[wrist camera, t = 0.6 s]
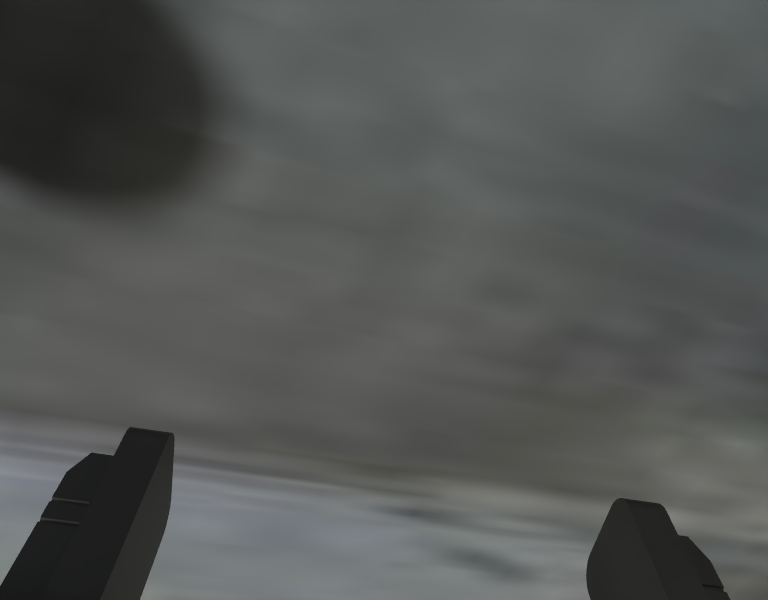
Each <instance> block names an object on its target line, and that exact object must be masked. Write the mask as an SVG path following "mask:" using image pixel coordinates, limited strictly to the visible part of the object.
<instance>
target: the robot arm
mask: <svg viewBox="0 0 768 600" xmlns="http://www.w3.org/2000/svg"><path fill="white" fill-rule="evenodd" d="M173 457H174V434H173V433H169V432H162V431H155V430H148V429H141V428H134V427H130V428H129V429H128V430H127V431H126V433H125V435H124V437H123V439H122V441H121V443H120V445H119V447H118V449H117V451H116V453H115V455H114V456H112V455H105V454H97V453H90V454H89V455H88V456H87V457H85V458H84V459H83V460H81V461H80V462H79V463H78V464H76V465H75V466H74V467H72V468H71V469H70V470H69V471H67V472H66V474H65V476H64V478H63V479H62V481H61V483H60V484H59V486H58V488H57V490H56V491H55V493H54V495H53V497H52V501H50V502H49V503H48V505H47V507H46V508H45V510H44V512H43V514H42V515H41V519H40V522H37V524H36V526H35V527H34V529H33V531H32V532H31V534H30V536H29V538H28V539H27V541H26V543H25V545H24V546H23V548H22V550H21V551H20V553H19V555H18V557H17V558H16V560H15V562H14V563H13V565H12V567H11V569H10V570H9V572H8V574H7V575H6V577H5V579H4V581H3V582H2V584H1V586H0V600H140V598H141V595H142V592H143V589H144V587H145V584H146V581H147V578H148V576H149V573H150V570H151V567H152V565H153V562H154V559H155V556H156V554H157V551H158V548H159V545H160V543H161V540H162V537H163V534H164V531H165V528H166V524H167V520H168V515H169V510H170V504H171V492H172V475H173ZM586 578H587V588H588V592H589V596H590V599H591V600H730V598H729V596H728V594H727V592H724V591H723V588H724V587H723V585H722V583H721V581H720V579H719V577H718V575H717V573H716V571H715V569H714V567H713V565H712V563H711V561H710V560H709V559H708V558H707V557H706V556H705V555H704V554H703V553H702V552H701V550H700V549H699V548H698V547H697V546H696V545H695V544H694V543H693V542H692V541H691V540H690V539H689V538H688V537H686V536H679V535H678V534H677V532H676V530H675V528H674V526H673V524H672V522H671V520H670V517H669V515H668V513H667V511H666V510H665V508H664V507H663V506H662V505H661V504H658V503H652V502H645V501H638V500H631V499H624V498H619V499H617V500H615V501H614V503H613V504H612V506H611V508H610V511H609V513H608V515H607V517H606V520H605V522H604V524H603V526H602V529H601V531H600V533H599V535H598V538H597V540H596V542H595V544H594V546H593V549H592V551H591V553H590V556H589V559H588V563H587V573H586Z"/></svg>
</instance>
